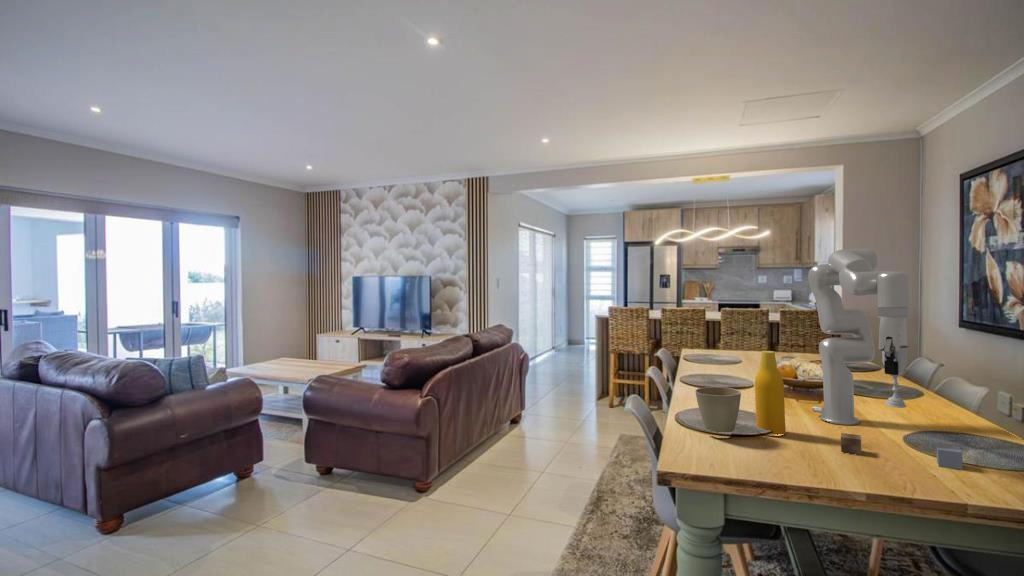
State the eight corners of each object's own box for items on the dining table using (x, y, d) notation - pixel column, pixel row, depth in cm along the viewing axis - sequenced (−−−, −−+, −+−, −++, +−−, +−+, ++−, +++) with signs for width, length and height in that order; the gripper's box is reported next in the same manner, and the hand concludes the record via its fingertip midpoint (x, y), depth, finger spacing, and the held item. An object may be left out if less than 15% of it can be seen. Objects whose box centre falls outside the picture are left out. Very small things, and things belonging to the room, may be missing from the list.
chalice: (916, 409, 140) (914, 347, 140) (889, 408, 142) (888, 348, 141) (901, 402, 148) (900, 344, 147) (876, 402, 149) (874, 344, 148)
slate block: (938, 467, 136) (938, 449, 136) (936, 461, 140) (936, 444, 140) (962, 470, 133) (962, 452, 133) (960, 464, 137) (959, 447, 137)
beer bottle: (779, 438, 164) (776, 354, 165) (751, 433, 171) (748, 352, 171) (789, 432, 171) (786, 351, 171) (762, 427, 177) (759, 349, 178)
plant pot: (737, 430, 175) (735, 386, 175) (747, 443, 161) (745, 396, 161) (694, 429, 179) (692, 386, 179) (700, 441, 164) (698, 395, 164)
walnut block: (841, 453, 149) (840, 437, 149) (841, 448, 153) (841, 432, 153) (861, 455, 146) (860, 439, 146) (861, 451, 150) (860, 435, 150)
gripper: (886, 310, 152) (888, 366, 153) (869, 314, 142) (870, 375, 142) (916, 311, 146) (918, 369, 147) (901, 315, 136) (902, 379, 136)
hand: (894, 372), depth 144 cm, fingers closed on chalice, 6 cm apart
